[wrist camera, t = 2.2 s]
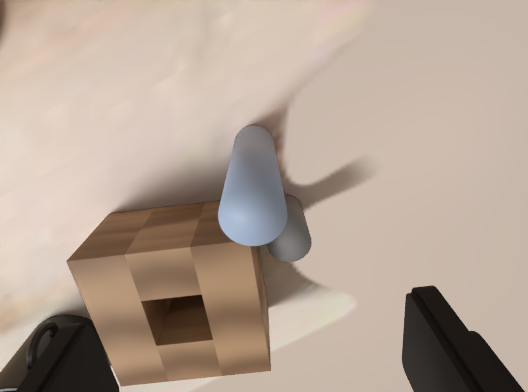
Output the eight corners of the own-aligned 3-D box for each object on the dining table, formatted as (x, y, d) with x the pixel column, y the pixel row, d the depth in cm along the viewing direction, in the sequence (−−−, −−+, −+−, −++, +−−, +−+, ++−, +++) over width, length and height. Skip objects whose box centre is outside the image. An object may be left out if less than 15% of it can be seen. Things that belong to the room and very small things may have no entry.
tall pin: (231, 127, 29) (212, 188, 17) (271, 122, 29) (284, 180, 16) (237, 166, 31) (224, 249, 18) (276, 161, 31) (290, 242, 18)
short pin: (263, 196, 32) (265, 227, 27) (300, 192, 32) (309, 221, 27) (268, 229, 34) (270, 264, 28) (303, 224, 33) (312, 259, 28)
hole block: (109, 213, 32) (66, 261, 25) (251, 196, 32) (249, 240, 25) (147, 321, 38) (121, 386, 31) (268, 308, 38) (270, 370, 30)
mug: (109, 297, 37) (66, 369, 28) (120, 373, 42) (86, 453, 33) (21, 293, 36) (-49, 365, 28) (42, 370, 41) (-12, 451, 33)
